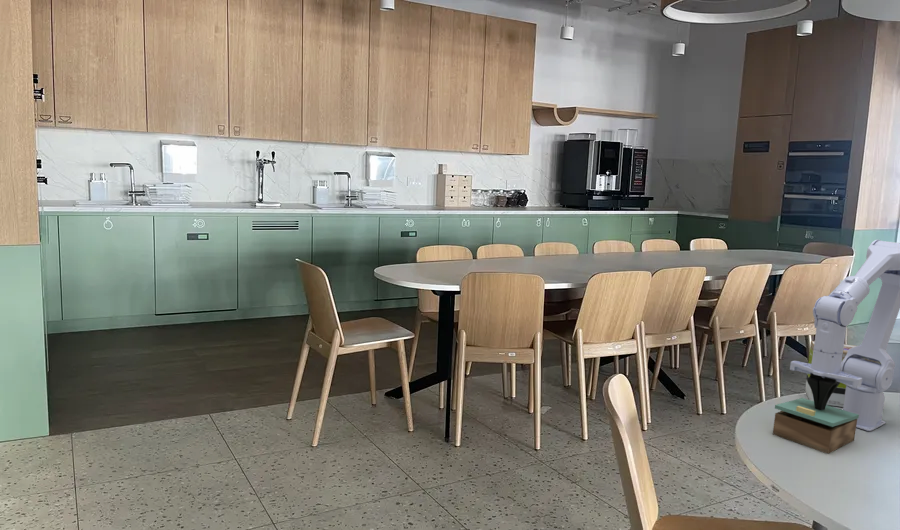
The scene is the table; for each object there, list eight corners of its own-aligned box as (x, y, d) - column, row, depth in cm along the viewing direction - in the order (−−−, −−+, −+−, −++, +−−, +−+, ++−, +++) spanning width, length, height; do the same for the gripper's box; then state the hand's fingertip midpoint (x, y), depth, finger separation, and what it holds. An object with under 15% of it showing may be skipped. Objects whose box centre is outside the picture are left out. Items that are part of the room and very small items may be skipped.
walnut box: (799, 422, 162) (802, 402, 161) (854, 440, 152) (857, 419, 152) (772, 434, 154) (775, 413, 153) (828, 453, 144) (831, 431, 144)
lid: (802, 401, 161) (803, 393, 161) (859, 418, 152) (860, 410, 151) (774, 408, 153) (775, 400, 153) (832, 427, 143) (833, 418, 143)
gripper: (786, 344, 154) (779, 402, 156) (855, 361, 143) (846, 423, 145) (801, 341, 158) (793, 396, 160) (869, 357, 147) (860, 416, 149)
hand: (819, 409), depth 153 cm, fingers closed, pressing on lid
